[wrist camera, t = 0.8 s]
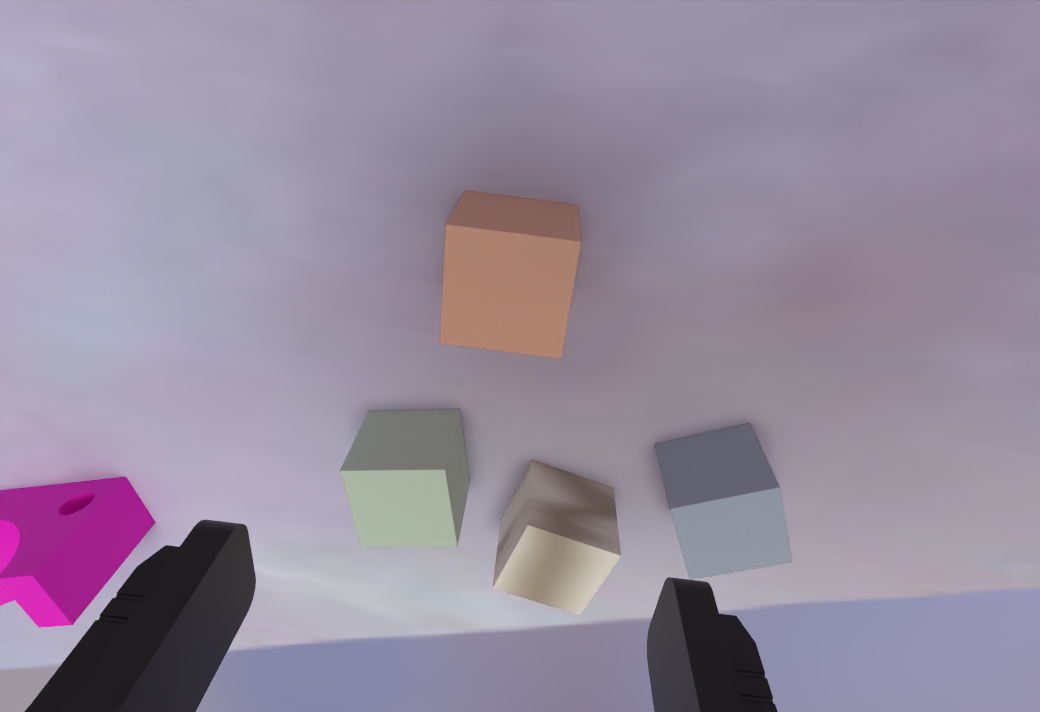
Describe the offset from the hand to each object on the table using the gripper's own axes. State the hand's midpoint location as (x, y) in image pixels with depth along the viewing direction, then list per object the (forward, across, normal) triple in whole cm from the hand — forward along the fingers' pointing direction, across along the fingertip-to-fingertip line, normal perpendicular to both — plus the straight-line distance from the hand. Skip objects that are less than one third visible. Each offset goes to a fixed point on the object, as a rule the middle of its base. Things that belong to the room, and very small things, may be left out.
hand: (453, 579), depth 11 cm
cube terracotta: (+18, 0, 0) cm, 18 cm away
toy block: (+19, +28, +22) cm, 40 cm away
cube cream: (+18, -4, +15) cm, 24 cm away
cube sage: (+18, +4, +12) cm, 22 cm away
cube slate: (+18, -12, +11) cm, 24 cm away
